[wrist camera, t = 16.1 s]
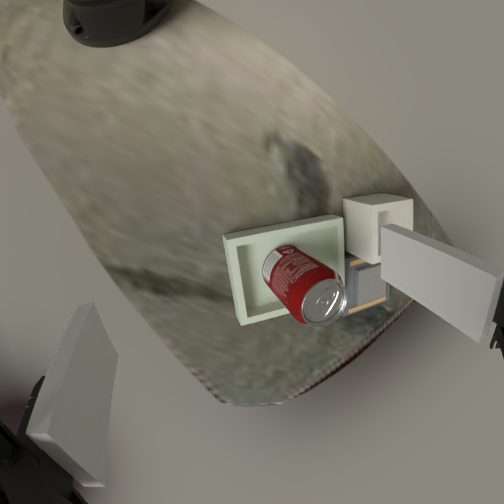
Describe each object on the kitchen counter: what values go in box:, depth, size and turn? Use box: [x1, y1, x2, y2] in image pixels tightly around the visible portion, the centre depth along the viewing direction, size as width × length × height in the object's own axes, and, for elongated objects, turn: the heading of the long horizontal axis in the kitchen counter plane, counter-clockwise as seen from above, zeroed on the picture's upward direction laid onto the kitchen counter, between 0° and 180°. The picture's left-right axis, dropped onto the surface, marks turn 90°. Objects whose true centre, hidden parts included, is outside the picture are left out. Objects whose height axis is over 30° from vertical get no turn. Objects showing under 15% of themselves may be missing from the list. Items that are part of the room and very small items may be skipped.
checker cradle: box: [341, 254, 390, 317], centre depth 45 cm, size 10×10×1 cm
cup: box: [342, 193, 413, 265], centre depth 39 cm, size 8×8×7 cm
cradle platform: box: [354, 262, 386, 306], centre depth 44 cm, size 6×6×1 cm
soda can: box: [262, 245, 348, 327], centre depth 34 cm, size 7×7×12 cm
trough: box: [223, 214, 345, 326], centre depth 39 cm, size 12×16×3 cm
